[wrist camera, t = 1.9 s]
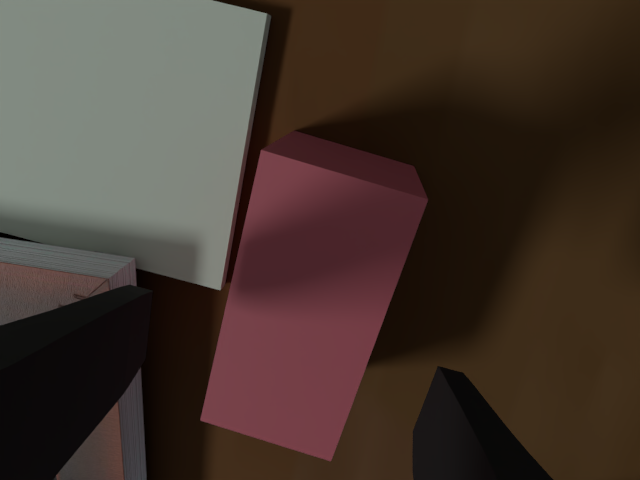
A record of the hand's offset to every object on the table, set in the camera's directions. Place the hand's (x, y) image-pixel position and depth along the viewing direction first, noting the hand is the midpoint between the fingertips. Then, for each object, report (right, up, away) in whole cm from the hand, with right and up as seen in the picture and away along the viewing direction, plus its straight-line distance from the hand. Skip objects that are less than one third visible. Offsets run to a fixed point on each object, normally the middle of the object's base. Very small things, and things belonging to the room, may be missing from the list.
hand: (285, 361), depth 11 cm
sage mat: (-9, +8, +6) cm, 13 cm away
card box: (+1, +2, +7) cm, 7 cm away
